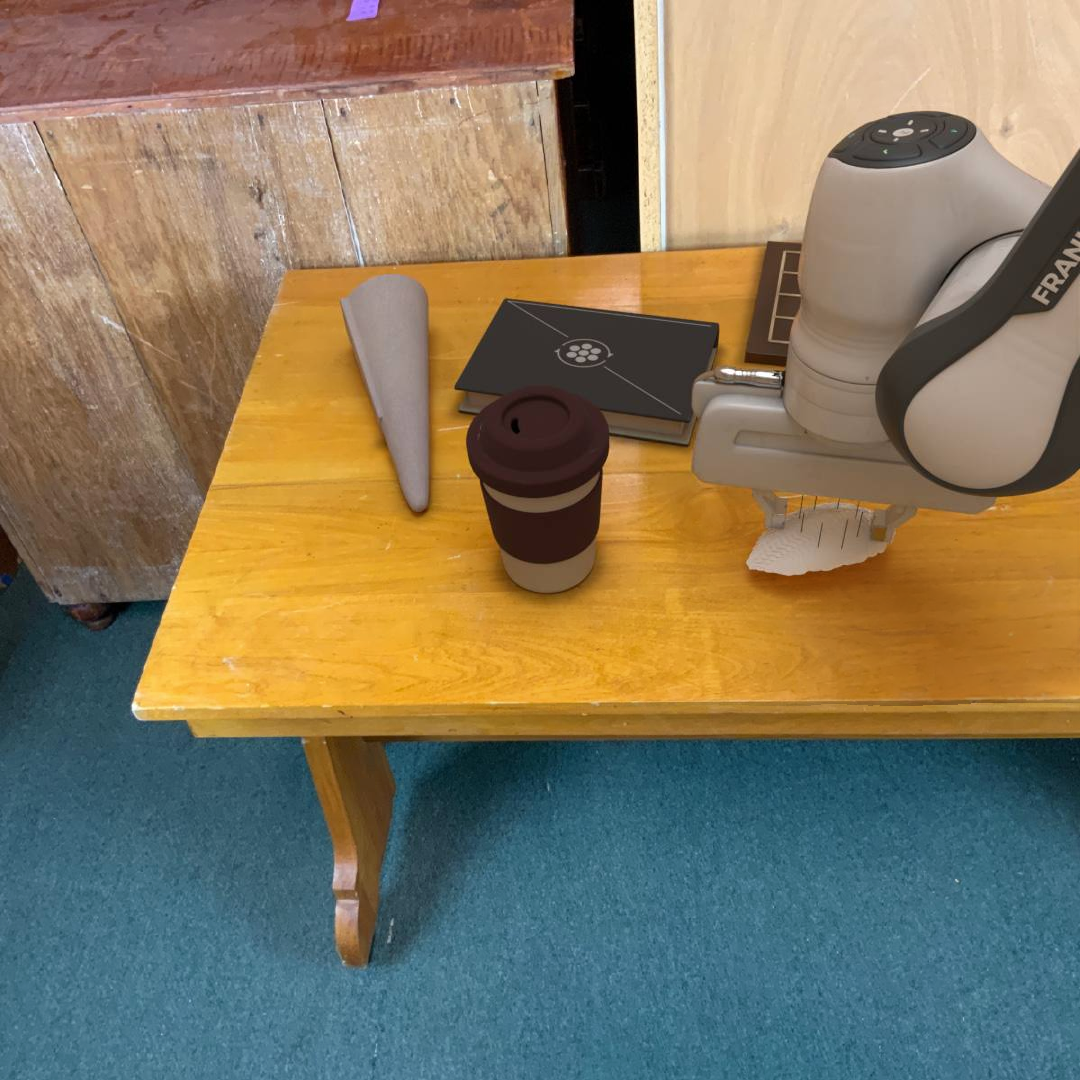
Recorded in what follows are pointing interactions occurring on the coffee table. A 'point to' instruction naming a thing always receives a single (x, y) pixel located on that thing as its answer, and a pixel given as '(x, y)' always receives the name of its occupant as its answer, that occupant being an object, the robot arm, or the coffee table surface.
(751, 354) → the board
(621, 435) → the book
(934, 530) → the coffee table surface
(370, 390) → the grey tapered cone
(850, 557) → the pincushion
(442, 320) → the coffee table surface
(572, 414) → the coffee cup
